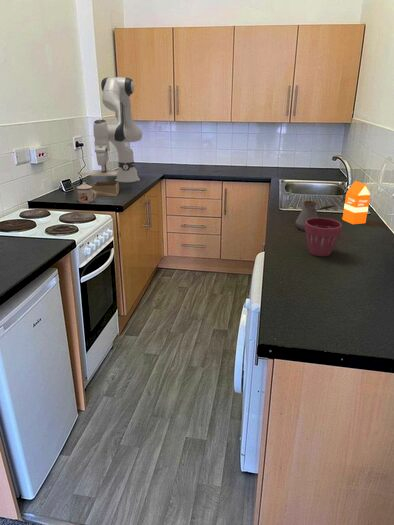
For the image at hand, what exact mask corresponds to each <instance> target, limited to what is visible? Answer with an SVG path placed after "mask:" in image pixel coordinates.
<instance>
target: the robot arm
mask: <svg viewBox="0 0 394 525" xmlns="http://www.w3.org/2000/svg"><path fill="white" fill-rule="evenodd" d="M100 87H101V92H102V98H101V100H102V104H103V105H104V107H105V108H107V109H108V110H110V111H112V112H114V114H115V118H116V119H117V124H108V123H107V120H106V119H96V120H94V121H93V124H92V125H93V129H92V131H93V136H94V142H93V143H94V153H95V155H96V156H95V157H96V162H97V165H98V166H100V167H101V168H102V169H101V170H102V171H105V165H106V166H107V162H109V158H110V157H109V152H110V143H111V144H113V145H114V147H115V148H116V151H117V157H118V158H117V159H118V162H117V166H118V168H117V169H116V170H119V172H118V173H117V175H116V178H115V179H114V182H119V183H134V182H140V181H141V179H140V177H139V176H138V170H137V169H136V167H135V165H136V164H135V161H134V158H135V157H134V150H133V149H132V148H130V147H129V146H126V145H125V144H126V143H135V142H140V141H141V140H142V138H143V132H142V129H141V127H139V126H138V125H137V124H136V123H135V120H134V119H133V116H132V106H131V105H132V104H131V98H130V97H131V95H132V94H133V93H134V91H135V84H134V80H133V79H132V78H130V77H120V76H116V77H105V78H102V80H101V83H100Z"/></svg>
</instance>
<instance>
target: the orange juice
mask: <svg viewBox="0 0 394 525" xmlns="http://www.w3.org/2000/svg"><path fill="white" fill-rule="evenodd" d="M370 200H371V192H370V191H369V188H368V186H367V183H362V182H360V181H357V180H354V181H353V183H352V184H351V186H350V187H349V188H348V189H347V191H346V194H345V200H344V206H343V213H342V217H341V218H342V220H343V221H344V222H346V223H349V224H351V225H359V224H366V222H367V218H368V217H367V216H368V212H369V204H370Z"/></svg>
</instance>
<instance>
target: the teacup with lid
mask: <svg viewBox="0 0 394 525" xmlns="http://www.w3.org/2000/svg"><path fill="white" fill-rule="evenodd" d="M76 190H77V191H76V192H77V199H78V202H79V203H87V204H92V203H93V202H94V199H96V198H97V196H96V192H95V191H93V190H92V185H89V184H87V183H86V182H82V184H80V185H79V186H76ZM92 192H94V194H95V196H93V193H92Z"/></svg>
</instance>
